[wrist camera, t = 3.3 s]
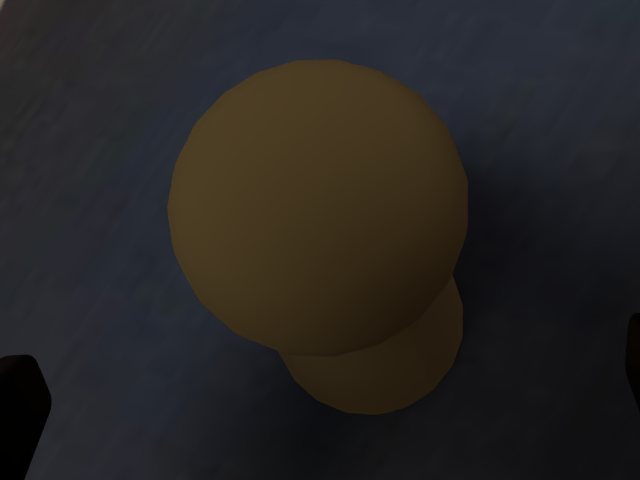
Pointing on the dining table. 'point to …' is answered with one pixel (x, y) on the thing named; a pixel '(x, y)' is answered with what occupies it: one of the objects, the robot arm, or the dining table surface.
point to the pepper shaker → (328, 229)
